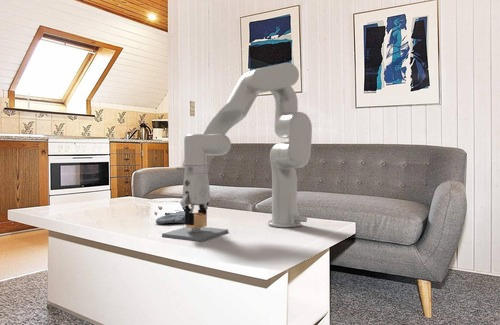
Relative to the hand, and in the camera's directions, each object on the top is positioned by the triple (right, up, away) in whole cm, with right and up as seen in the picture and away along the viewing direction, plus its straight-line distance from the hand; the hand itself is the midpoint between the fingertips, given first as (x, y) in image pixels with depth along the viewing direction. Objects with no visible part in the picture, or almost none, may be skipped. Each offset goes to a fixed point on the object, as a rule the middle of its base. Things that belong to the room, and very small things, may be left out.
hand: (196, 222), depth 136 cm
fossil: (-11, -4, +25) cm, 28 cm away
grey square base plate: (0, -4, 0) cm, 4 cm away
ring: (0, -1, 0) cm, 1 cm away
